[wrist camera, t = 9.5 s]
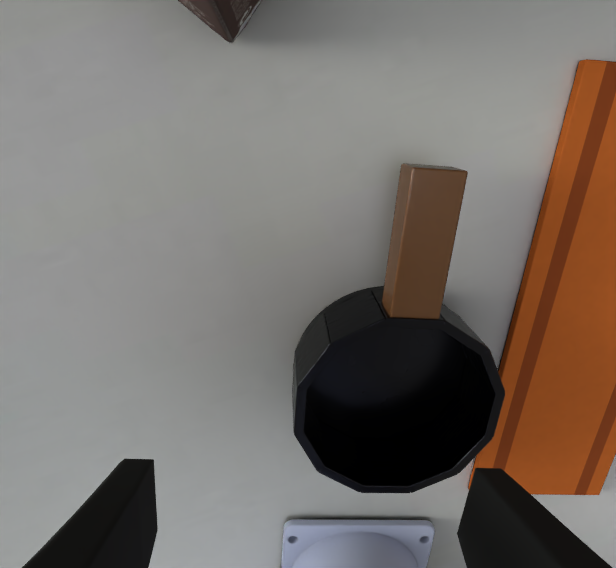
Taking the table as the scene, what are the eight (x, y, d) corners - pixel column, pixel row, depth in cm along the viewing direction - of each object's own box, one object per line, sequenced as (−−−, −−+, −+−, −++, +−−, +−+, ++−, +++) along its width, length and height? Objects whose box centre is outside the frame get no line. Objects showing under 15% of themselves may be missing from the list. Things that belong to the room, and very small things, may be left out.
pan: (450, 440, 21) (478, 494, 18) (288, 436, 20) (289, 492, 17) (512, 167, 16) (565, 177, 13) (307, 153, 16) (312, 160, 13)
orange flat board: (594, 489, 23) (599, 495, 22) (467, 487, 22) (470, 494, 22) (757, 76, 16) (769, 75, 15) (578, 60, 15) (586, 58, 15)
